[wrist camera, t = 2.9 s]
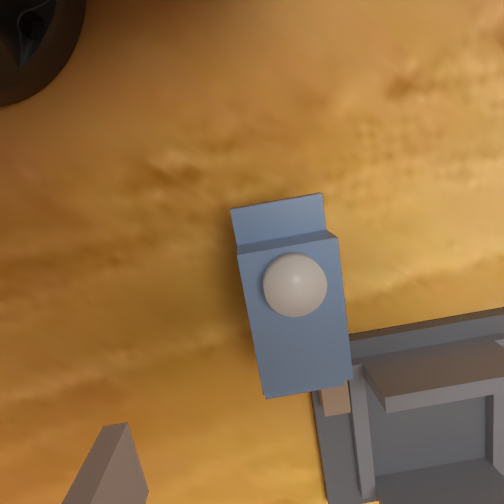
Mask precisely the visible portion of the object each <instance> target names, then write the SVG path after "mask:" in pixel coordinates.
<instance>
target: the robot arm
mask: <svg viewBox="0 0 504 504" xmlns="http://www.w3.org/2000/svg"><path fill="white" fill-rule="evenodd" d="M85 3H86V0H0V106H4V105H9V104H12V103H15V102H18V101H20V100H23V99H25V98H27V97H29V96H31V95H32V94H34V93H36V92H37V91H39V90H40V89H41V88H43V87H44V86H45V85H47V84H48V83H49V82H50V81H51V80H52V79H53V78H54V77H55V76H56V75H57V74H58V72H59V71H60V70H61V69H62V67H63V66H64V65H65V63H66V61H67V60H68V58H69V57H70V55H71V53H72V51H73V49H74V47H75V44H76V42H77V39H78V36H79V33H80V30H81V26H82V23H83V17H84V12H85ZM148 492H149V490H148V487H147V484H146V481H145V477H144V474H143V471H142V468H141V465H140V461H139V458H138V455H137V452H136V449H135V445H134V442H133V439H132V436H131V433H130V429H129V426H128V423H127V422H126V423H120V424H115V425H109V426H103V428H102V430H101V432H100V434H99V435H98V437H97V439H96V441H95V443H94V445H93V447H92V448H91V450H90V452H89V454H88V456H87V458H86V460H85V461H84V463H83V465H82V467H81V469H80V471H79V473H78V474H77V476H76V478H75V480H74V482H73V484H72V486H71V487H70V489H69V491H68V493H67V495H66V497H65V499H64V500H63V502H62V504H145V503H146V499H147V496H148Z"/></svg>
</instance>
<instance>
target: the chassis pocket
mask: <svg viewBox="0 0 504 504" xmlns="http://www.w3.org/2000/svg"><path fill="white" fill-rule="evenodd" d="M349 343H350V352H351V361H352V370H353V379H350V380H344V382H345V385H344V386H338V387H333V388H327V389H321V390H316V391H311V396H312V403H313V410H314V417H315V423H316V430H317V437H318V443H319V450H320V457H321V463H322V470H323V477H324V484H325V490H326V497H327V501H328V504H362V503H368V502H374V501H379V503H380V504H504V307H503V308H497V309H491V310H486V311H480V312H474V313H469V314H463V315H457V316H452V317H446V318H440V319H435V320H429V321H423V322H418V323H412V324H406V325H401V326H395V327H389V328H384V329H378V330H372V331H367V332H361V333H355V334H350V335H349Z"/></svg>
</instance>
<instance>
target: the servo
mask: <svg viewBox="0 0 504 504" xmlns="http://www.w3.org/2000/svg"><path fill="white" fill-rule="evenodd" d="M230 212H231V217H232V223H233V228H234V233H235V239H236V244H237V260H238V265H239V270H240V276H241V281H242V286H243V291H244V296H245V302H246V307H247V312H248V317H249V323H250V328H251V333H252V338H253V343H254V349H255V354H256V359H257V364H258V370H259V375H260V380H261V385H262V390H263V395H265V397H266V399H270V398H276V397H282V396H287V395H293V394H299V393H304V392H310V391H316V390H321V389H327V388H333V387H338V386H344V385H345V382H344V380H350V379H353V370H352V361H351V352H350V343H349V334H348V325H347V316H346V307H345V298H344V289H343V280H342V271H341V262H340V254H339V245H338V237H336V236H335V235H333V234H332V233H330V232H329V231H327V230H326V223H325V215H324V207H323V198H322V193H314V194H308V195H303V196H297V197H291V198H286V199H280V200H275V201H269V202H263V203H258V204H252V205H247V206H241V207H235V208H230Z"/></svg>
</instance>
